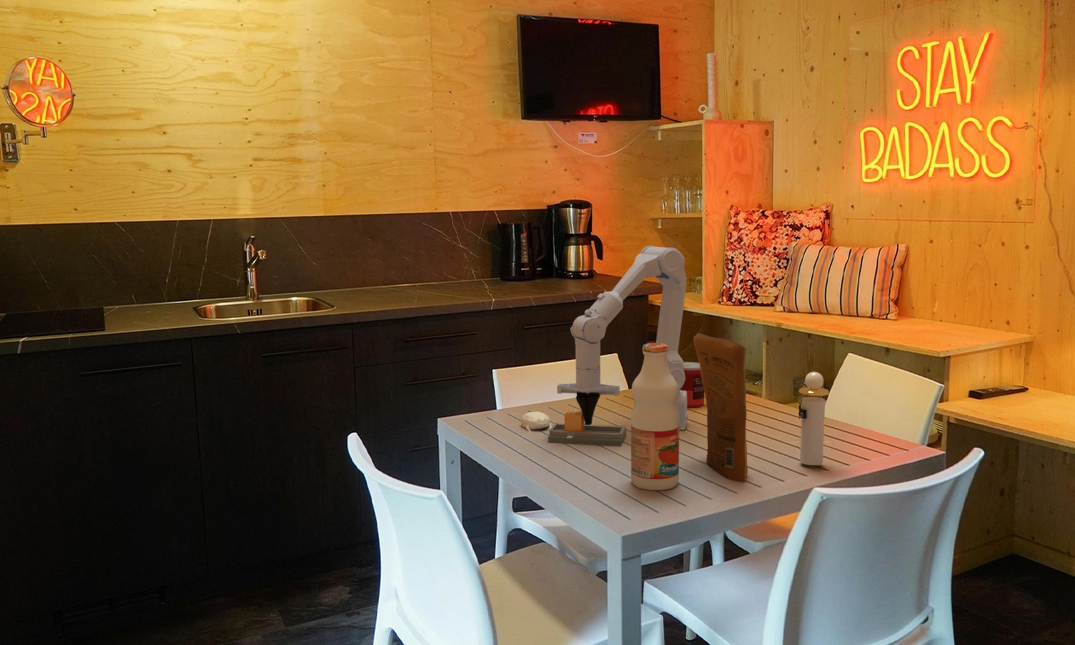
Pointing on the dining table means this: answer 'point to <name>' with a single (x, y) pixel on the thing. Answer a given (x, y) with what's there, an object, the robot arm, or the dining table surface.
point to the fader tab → (574, 421)
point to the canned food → (693, 385)
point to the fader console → (588, 435)
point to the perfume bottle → (812, 420)
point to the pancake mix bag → (724, 404)
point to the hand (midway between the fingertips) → (588, 423)
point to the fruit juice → (655, 423)
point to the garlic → (535, 420)
